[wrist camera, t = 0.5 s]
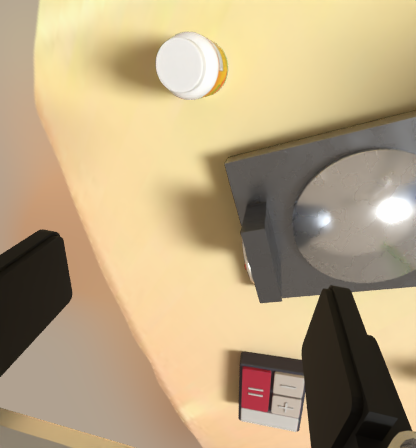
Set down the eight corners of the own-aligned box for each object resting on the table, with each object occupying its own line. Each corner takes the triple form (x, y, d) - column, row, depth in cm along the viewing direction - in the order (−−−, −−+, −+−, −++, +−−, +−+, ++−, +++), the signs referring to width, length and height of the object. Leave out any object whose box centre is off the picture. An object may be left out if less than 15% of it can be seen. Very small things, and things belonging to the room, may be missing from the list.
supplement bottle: (192, 103, 33) (163, 112, 25) (173, 53, 31) (135, 44, 23) (235, 85, 31) (220, 87, 23) (219, 30, 30) (196, 12, 21)
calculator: (308, 378, 45) (299, 436, 51) (306, 356, 49) (297, 412, 55) (239, 367, 47) (237, 424, 53) (241, 346, 51) (240, 402, 57)
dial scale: (464, 98, 28) (550, 107, 19) (454, 266, 35) (513, 328, 27) (228, 157, 35) (212, 183, 26) (262, 286, 43) (259, 339, 34)
